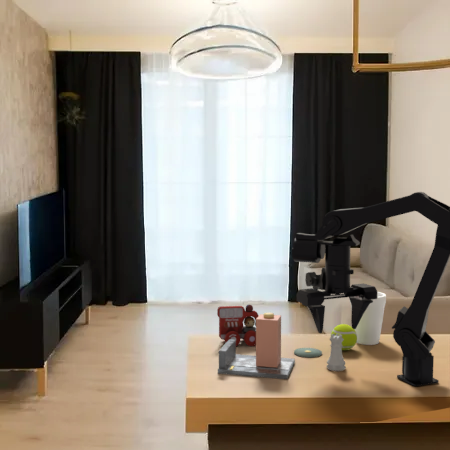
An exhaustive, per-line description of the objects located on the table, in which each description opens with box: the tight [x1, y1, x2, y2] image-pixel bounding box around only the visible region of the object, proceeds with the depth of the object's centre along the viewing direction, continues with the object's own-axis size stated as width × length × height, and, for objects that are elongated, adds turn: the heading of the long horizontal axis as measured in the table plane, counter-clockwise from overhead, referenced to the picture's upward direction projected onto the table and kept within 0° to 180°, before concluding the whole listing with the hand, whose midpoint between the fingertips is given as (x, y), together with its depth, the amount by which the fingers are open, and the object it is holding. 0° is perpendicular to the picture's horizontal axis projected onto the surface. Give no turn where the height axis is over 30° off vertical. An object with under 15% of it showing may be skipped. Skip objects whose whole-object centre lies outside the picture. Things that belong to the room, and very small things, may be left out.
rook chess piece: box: [326, 334, 347, 372], centre depth 144 cm, size 4×4×8 cm
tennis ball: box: [330, 323, 357, 351], centre depth 159 cm, size 7×7×7 cm
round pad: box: [293, 347, 323, 359], centre depth 156 cm, size 7×7×1 cm
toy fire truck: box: [216, 304, 260, 347], centre depth 165 cm, size 7×12×10 cm, turn 100°
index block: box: [255, 312, 282, 368], centre depth 143 cm, size 5×5×12 cm
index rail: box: [217, 339, 296, 380], centre depth 144 cm, size 16×12×5 cm
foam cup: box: [349, 291, 387, 346], centre depth 166 cm, size 10×9×13 cm
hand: (337, 330), depth 143 cm, fingers open, 9 cm apart
